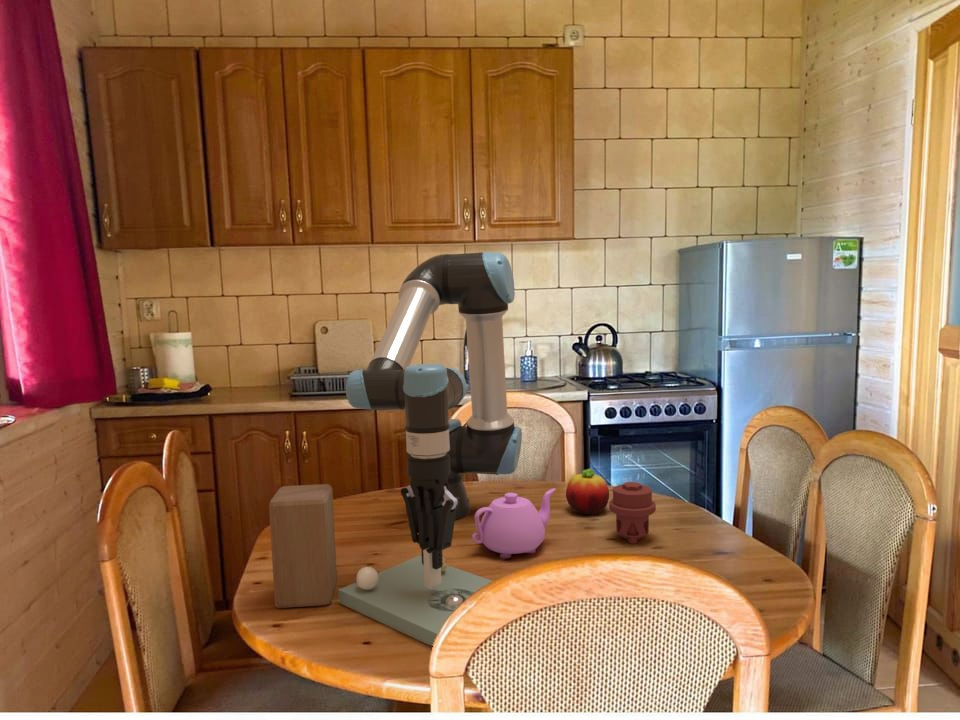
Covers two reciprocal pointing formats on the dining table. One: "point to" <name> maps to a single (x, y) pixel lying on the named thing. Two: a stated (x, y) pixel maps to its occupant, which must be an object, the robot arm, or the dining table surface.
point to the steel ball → (453, 600)
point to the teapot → (512, 524)
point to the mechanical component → (632, 510)
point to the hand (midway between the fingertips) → (432, 584)
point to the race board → (411, 598)
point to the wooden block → (303, 545)
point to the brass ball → (444, 564)
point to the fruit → (587, 493)
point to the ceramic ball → (367, 578)
